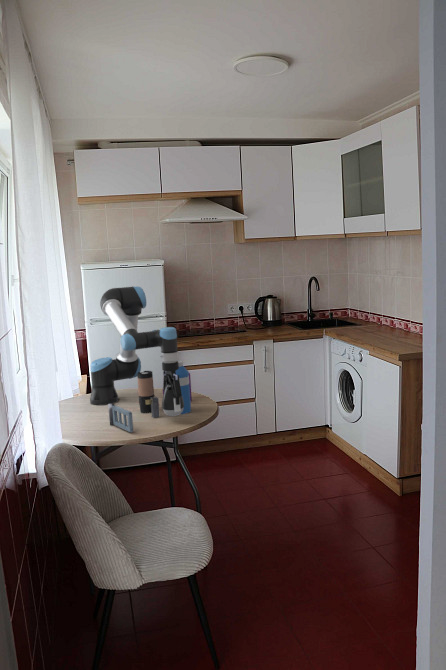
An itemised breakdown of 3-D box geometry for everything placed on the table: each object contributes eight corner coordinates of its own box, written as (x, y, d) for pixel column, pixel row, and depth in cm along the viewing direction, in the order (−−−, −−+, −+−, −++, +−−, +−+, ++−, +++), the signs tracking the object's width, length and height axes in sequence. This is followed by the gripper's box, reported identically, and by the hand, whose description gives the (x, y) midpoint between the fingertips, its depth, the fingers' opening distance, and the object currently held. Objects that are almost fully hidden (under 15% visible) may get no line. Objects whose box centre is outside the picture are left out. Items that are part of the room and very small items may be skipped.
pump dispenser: (159, 417, 258) (156, 385, 256) (167, 411, 268) (165, 379, 265) (180, 418, 255) (178, 385, 253) (187, 411, 265) (185, 380, 263)
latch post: (146, 417, 273) (145, 397, 271) (157, 415, 275) (155, 396, 274) (149, 419, 270) (147, 399, 268) (159, 417, 272) (158, 397, 271)
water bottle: (179, 408, 286) (176, 359, 282) (194, 410, 281) (191, 360, 278) (168, 413, 278) (165, 363, 274) (184, 415, 273) (181, 364, 270)
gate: (116, 423, 262) (115, 405, 261) (133, 431, 249) (132, 412, 247) (113, 424, 261) (112, 406, 260) (130, 432, 248) (128, 412, 246)
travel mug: (152, 413, 279) (149, 373, 276) (137, 413, 280) (134, 373, 278) (157, 409, 286) (154, 370, 283) (142, 409, 288) (140, 370, 285)
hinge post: (109, 424, 264) (107, 403, 263) (115, 423, 265) (113, 402, 264) (110, 425, 262) (109, 404, 260) (116, 424, 263) (115, 403, 261)
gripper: (154, 359, 266) (157, 405, 269) (171, 366, 246) (174, 415, 249) (168, 357, 270) (172, 402, 273) (187, 363, 249) (190, 412, 252)
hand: (173, 408), depth 261 cm, fingers closed on pump dispenser, 10 cm apart
